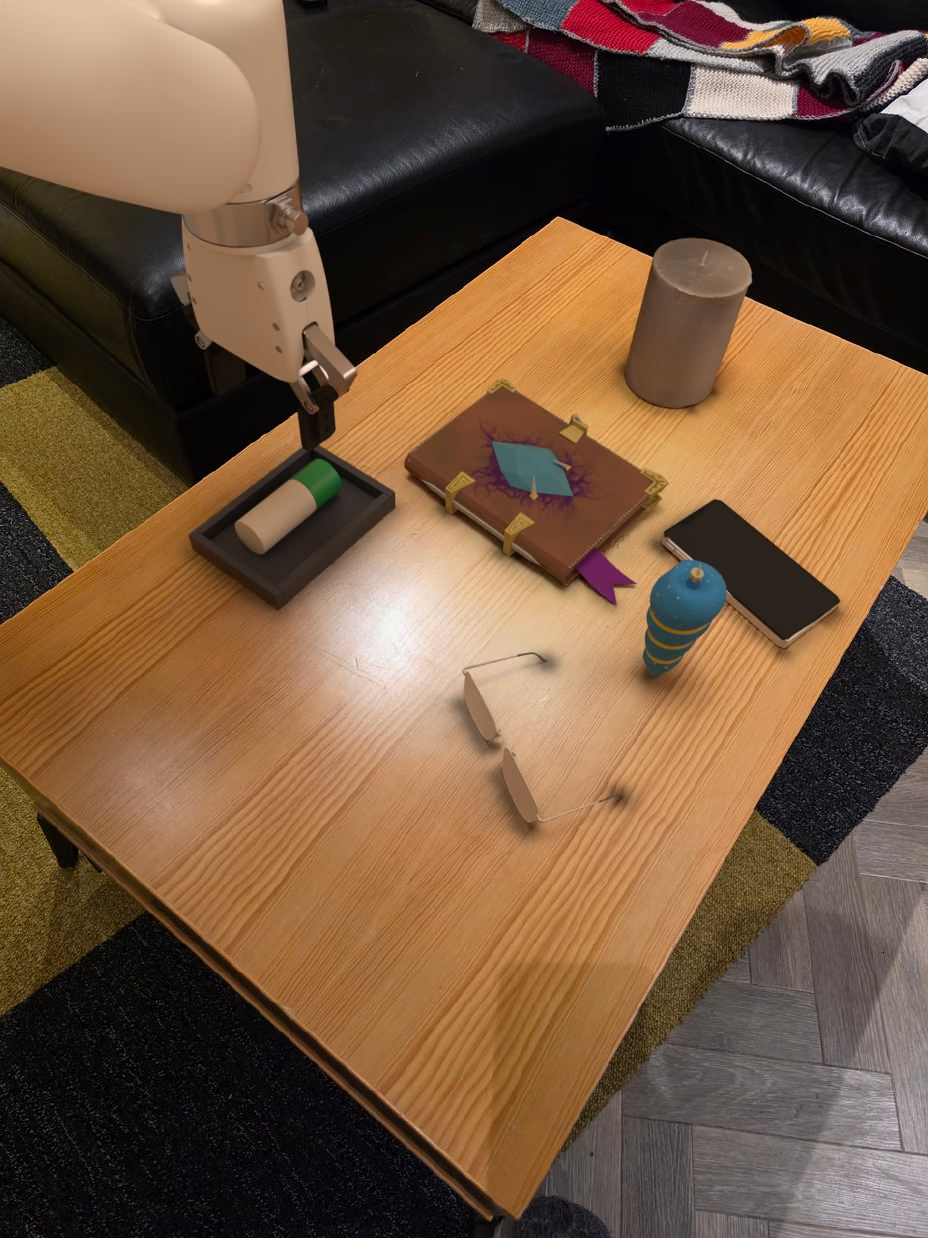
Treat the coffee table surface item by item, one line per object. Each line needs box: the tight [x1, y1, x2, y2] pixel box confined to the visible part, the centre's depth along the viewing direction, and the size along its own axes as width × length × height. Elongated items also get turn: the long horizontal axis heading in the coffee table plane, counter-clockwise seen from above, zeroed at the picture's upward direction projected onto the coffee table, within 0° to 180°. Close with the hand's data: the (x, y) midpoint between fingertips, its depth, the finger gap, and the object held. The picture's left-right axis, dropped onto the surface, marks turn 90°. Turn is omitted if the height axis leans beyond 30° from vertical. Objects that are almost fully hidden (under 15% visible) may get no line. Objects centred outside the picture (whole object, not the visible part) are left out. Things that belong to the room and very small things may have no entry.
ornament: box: [642, 560, 727, 679], centre depth 67 cm, size 5×5×15 cm
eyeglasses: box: [461, 651, 625, 824], centre depth 68 cm, size 14×8×4 cm, turn 24°
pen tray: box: [188, 444, 396, 611], centre depth 80 cm, size 16×11×2 cm
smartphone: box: [660, 498, 841, 649], centre depth 80 cm, size 8×1×15 cm
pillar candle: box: [624, 237, 753, 409], centre depth 89 cm, size 10×10×15 cm
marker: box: [235, 459, 342, 555], centre depth 79 cm, size 10×4×4 cm
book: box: [403, 377, 670, 606], centre depth 82 cm, size 16×25×5 cm, turn 47°
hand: (273, 412), depth 69 cm, fingers open, 9 cm apart
